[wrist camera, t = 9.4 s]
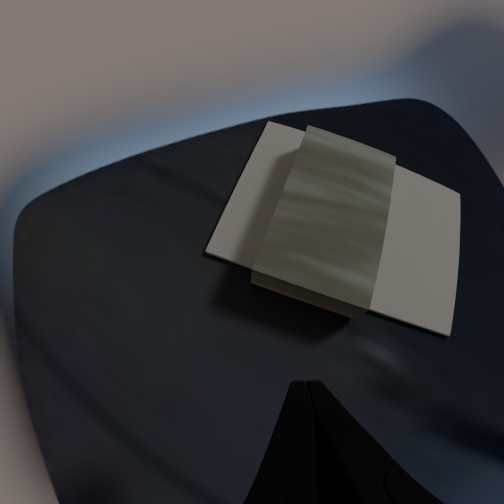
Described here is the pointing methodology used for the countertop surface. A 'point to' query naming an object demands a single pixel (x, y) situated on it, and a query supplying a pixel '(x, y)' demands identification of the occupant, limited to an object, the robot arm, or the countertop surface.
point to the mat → (395, 242)
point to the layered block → (329, 225)
